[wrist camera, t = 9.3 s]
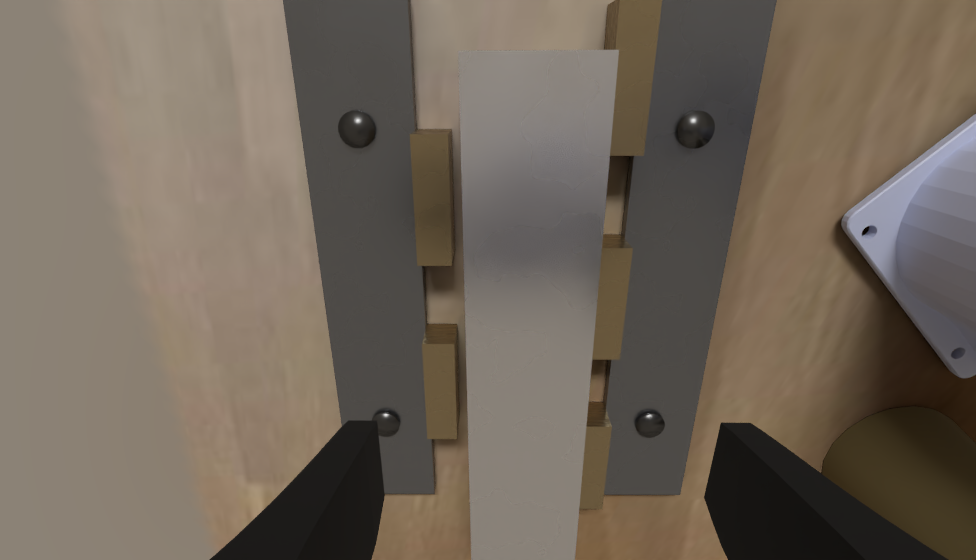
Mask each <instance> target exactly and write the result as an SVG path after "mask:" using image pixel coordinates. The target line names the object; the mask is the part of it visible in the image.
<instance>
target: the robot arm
mask: <svg viewBox="0 0 976 560" xmlns="http://www.w3.org/2000/svg"><path fill="white" fill-rule="evenodd" d="M841 226H842V228H843V230H844V232H845V233H846V234H847V236H848V237H849V238H850V239H851V241H852V242H853V243H854V245H855V246H856V247H857V249H858V250H859V251H860V253H861V254H862V255H863V257H864V258H865V259H866V261H867V262H868V263H869V265H870V266H871V267H872V269H873V270H874V271H875V273H876V274H877V275H878V277H879V278H880V279H881V281H882V282H883V283H884V284H885V286H886V287H887V288H888V290H889V291H890V292H891V294H892V295H893V296H894V298H895V299H896V300H897V302H898V303H899V304H900V306H901V307H902V308H903V310H904V311H905V312H906V314H907V315H908V316H909V318H910V319H911V320H912V322H913V323H914V324H915V326H916V327H917V328H918V329H919V331H920V332H921V333H922V335H923V336H924V337H925V339H926V340H927V341H928V343H929V344H930V345H931V347H932V348H933V349H934V351H935V352H936V353H937V355H938V356H939V357H940V359H941V360H942V361H943V363H944V364H945V365H946V367H947V368H948V369H949V371H950V372H952V373H953V374H955V375H956V376H958V377H959V378H970V377H972V376H974V375H976V114H975V115H973V116H972V117H971V118H969V119H968V120H967V121H966V122H964V123H963V124H962V125H960V126H959V127H958V128H956V129H955V130H954V131H952V132H951V133H950V134H948V135H947V136H946V137H945V138H943V139H942V140H941V141H939V142H938V143H937V144H935V145H934V146H933V147H931V148H930V149H929V150H927V151H926V152H925V153H924V154H922V155H921V156H920V157H918V158H917V159H916V160H914V161H913V162H912V163H910V164H909V165H908V166H906V167H905V168H904V169H903V170H901V171H900V172H899V173H897V174H896V175H895V176H893V177H892V178H891V179H889V180H888V181H887V182H885V183H884V184H883V185H882V186H880V187H879V188H878V189H876V190H875V191H874V192H872V193H871V194H870V195H868V196H867V197H866V198H864V199H863V200H862V201H861V202H859V203H858V204H857V205H855V206H854V207H853V208H851V209H850V210H849V211H848V212H847V213H846V214H845V215H844V217H843V219H842V223H841ZM867 226H869V230H868V232H867V233H866V234H865V235H863V236H862V231H863V230H864V229H865V227H867ZM952 351H953V352H952ZM384 496H385V494H384V484H383V474H382V464H381V454H380V444H379V434H378V424H377V421H365V420H348V421H347V422H346V423H345V424H344V425H343V426H342V427H341V428H340V429H339V430H338V431H337V433H336V434H335V435H334V436H333V437H332V438H331V439H330V440H329V442H328V443H327V444H326V445H325V446H324V447H323V448H322V449H321V451H320V452H319V453H318V454H317V455H316V456H315V457H314V458H313V459H312V460H311V462H310V463H309V464H308V465H307V466H306V467H305V468H304V469H303V470H302V471H301V472H300V473H299V474H298V475H297V477H296V478H295V479H294V480H293V481H292V482H291V483H290V484H289V485H288V486H287V487H286V488H285V489H284V490H283V491H282V492H281V493H280V494H279V495H278V496H277V497H276V498H275V499H274V500H273V501H272V502H271V503H270V504H269V505H268V506H267V507H266V508H265V509H264V510H263V511H262V512H261V513H260V514H259V515H258V516H257V517H256V518H255V519H254V520H253V521H252V522H251V523H250V524H248V525H247V526H246V527H245V528H244V529H243V530H242V531H241V532H240V533H239V534H238V535H237V536H236V537H235V538H234V539H232V540H231V541H230V542H229V543H228V544H227V545H226V546H225V547H224V548H222V549H221V550H220V551H219V552H218V553H217V554H216V555H214V556H213V557H212V558H211V559H210V560H371V559H372V555H373V552H374V548H375V545H376V540H377V535H378V530H379V524H380V519H381V513H382V507H383V502H384ZM704 498H705V501H706V504H707V507H708V510H709V513H710V516H711V519H712V521H713V524H714V527H715V530H716V532H717V535H718V538H719V540H720V543H721V546H722V548H723V550H724V552H725V554H726V556H727V558H728V560H948V559H947V558H945V557H944V556H942V555H940V554H939V553H937V552H936V551H934V550H932V549H931V548H929V547H928V546H926V545H924V544H923V543H921V542H920V541H918V540H917V539H915V538H914V537H912V536H911V535H909V534H908V533H906V532H905V531H903V530H902V529H900V528H899V527H897V526H896V525H894V524H893V523H891V522H889V521H888V520H886V519H885V518H883V517H882V516H881V515H879V514H878V513H876V512H875V511H873V510H872V509H870V508H869V507H867V506H866V505H865V504H863V503H862V502H860V501H859V500H857V499H856V498H855V497H853V496H852V495H850V494H849V493H847V492H846V491H845V490H843V489H842V488H840V487H839V486H838V485H836V484H835V483H833V482H832V481H831V480H829V479H828V478H827V477H825V476H824V475H822V474H821V473H820V472H818V471H817V470H816V469H814V468H813V467H811V466H810V465H809V464H807V463H806V462H805V461H803V460H802V459H801V458H799V457H798V456H796V455H795V454H794V453H792V452H791V451H790V450H788V449H787V448H786V447H784V446H783V445H781V444H780V443H779V442H777V441H776V440H774V439H773V438H772V437H770V436H769V435H767V434H766V433H765V432H763V431H762V430H760V429H759V428H757V427H756V426H754V425H753V424H751V423H721V425H720V430H719V434H718V438H717V443H716V447H715V452H714V456H713V461H712V465H711V469H710V474H709V478H708V483H707V487H706V492H705V496H704Z"/></svg>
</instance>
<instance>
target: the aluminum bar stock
mask: <svg viewBox="0 0 976 560" xmlns="http://www.w3.org/2000/svg"><path fill="white" fill-rule="evenodd" d="M618 56H619V50H492V51H458V59H459V98H460V137H461V176H462V215H463V254H464V293H465V332H466V371H467V410H468V449H469V488H470V527H471V560H575V552H576V540H577V529H578V517H579V506H580V494H581V483H582V471H583V460H584V448H585V437H586V425H587V414H588V402H589V391H590V379H591V368H592V356H593V344H594V333H595V321H596V310H597V298H598V287H599V275H600V264H601V252H602V241H603V229H604V218H605V206H606V195H607V183H608V172H609V160H610V149H611V137H612V126H613V114H614V102H615V91H616V79H617V68H618Z"/></svg>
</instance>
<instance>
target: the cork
mask: <svg viewBox="0 0 976 560" xmlns="http://www.w3.org/2000/svg"><path fill="white" fill-rule="evenodd" d="M822 475H824V476H825V477H827V478H828V479H829V480H831V481H832V482H833V483H835V484H836V485H838V486H839V487H840V488H842V489H843V490H845V491H846V492H847V493H849V494H850V495H852V496H853V497H855V498H856V499H857V500H859V501H860V502H862V503H863V504H865V505H866V506H867V507H869V508H870V509H872V510H873V511H875V512H876V513H878V514H879V515H881V516H882V517H883V518H885V519H886V520H888V521H889V522H891V523H893V524H894V525H896V526H897V527H899V528H900V529H902V530H903V531H905V532H906V533H908V534H909V535H911V536H912V537H914V538H915V539H917V540H918V541H920V542H921V543H923V544H924V545H926V546H928V547H929V548H931V549H932V550H934V551H936V552H937V553H939V554H940V555H942V556H944V557H945V558H947V559H948V560H976V443H975V442H974V441H973V440H972V439H971V438H970V437H969V436H968V435H967V434H966V433H965V432H964V431H963V430H962V429H961V428H960V427H959V426H957V425H956V424H955V423H954V422H953V421H952V420H951V419H950V418H949V417H947V416H945V415H943V414H942V413H940V412H938V411H936V410H934V409H929V408H922V407H916V406H909V407H901V408H892V409H888V410H885V411H882V412H879V413H876V414H873V415H871V416H868V417H866V418H864V419H863V420H861V421H860V422H858V423H856V424H855V425H853V426H851V427H850V428H848V429H847V430H846V431H845V432H844V433H843V434H842V435H841V436H840V437H839V438H838V439H837V440H836V441H835V442H834V443H833V444H832V446H831V448H830V450H829V451H828V453H827V455H826V457H825V459H824V461H823V468H822Z"/></svg>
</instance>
